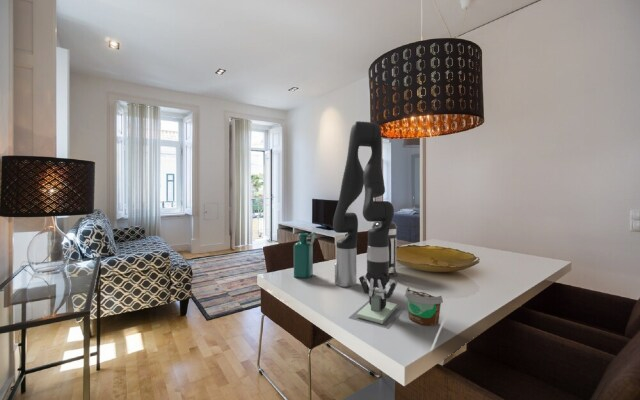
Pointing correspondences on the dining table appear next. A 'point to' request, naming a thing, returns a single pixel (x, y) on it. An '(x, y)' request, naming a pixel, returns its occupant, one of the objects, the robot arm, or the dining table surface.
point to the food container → (423, 307)
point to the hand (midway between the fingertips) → (377, 307)
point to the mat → (386, 324)
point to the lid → (376, 310)
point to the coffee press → (391, 246)
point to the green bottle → (303, 256)
